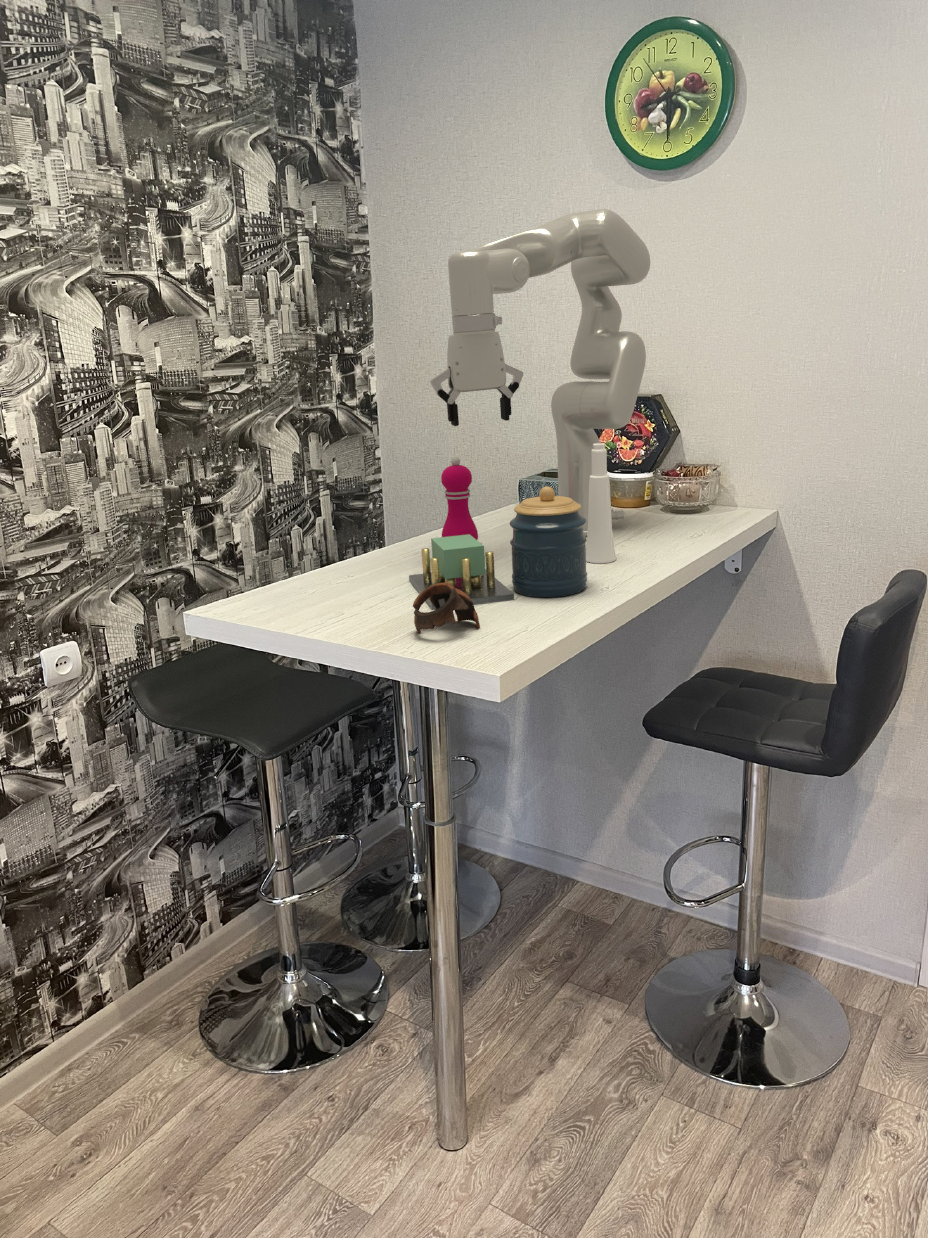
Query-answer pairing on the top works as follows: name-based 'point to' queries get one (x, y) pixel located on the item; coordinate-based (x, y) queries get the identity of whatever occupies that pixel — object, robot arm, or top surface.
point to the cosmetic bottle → (599, 511)
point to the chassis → (463, 580)
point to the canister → (548, 546)
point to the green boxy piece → (458, 555)
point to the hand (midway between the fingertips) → (480, 422)
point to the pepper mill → (458, 500)
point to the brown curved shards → (443, 607)
